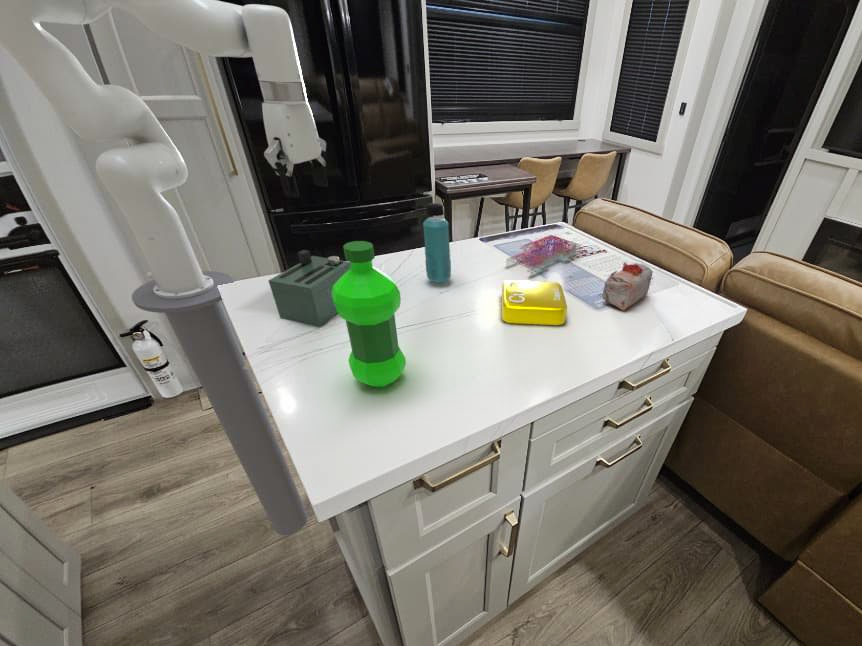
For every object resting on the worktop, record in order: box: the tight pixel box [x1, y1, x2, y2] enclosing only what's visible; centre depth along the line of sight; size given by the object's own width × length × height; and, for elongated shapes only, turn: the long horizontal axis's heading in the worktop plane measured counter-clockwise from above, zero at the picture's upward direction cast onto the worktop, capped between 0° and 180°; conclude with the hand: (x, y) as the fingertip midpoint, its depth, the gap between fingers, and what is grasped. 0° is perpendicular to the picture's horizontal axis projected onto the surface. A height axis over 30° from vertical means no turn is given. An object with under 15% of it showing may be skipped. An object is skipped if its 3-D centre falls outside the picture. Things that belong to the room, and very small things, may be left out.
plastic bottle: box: [331, 240, 407, 388], centre depth 70 cm, size 10×10×25 cm
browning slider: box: [297, 249, 312, 265], centre depth 93 cm, size 2×2×2 cm
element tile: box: [501, 279, 568, 326], centre depth 101 cm, size 15×15×5 cm
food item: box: [601, 261, 654, 311], centre depth 107 cm, size 14×8×10 cm, turn 140°
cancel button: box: [327, 255, 340, 267], centre depth 95 cm, size 2×2×2 cm
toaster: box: [268, 255, 351, 327], centre depth 94 cm, size 10×15×9 cm, turn 166°
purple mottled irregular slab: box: [505, 234, 583, 278], centre depth 128 cm, size 30×15×5 cm, turn 140°
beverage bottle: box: [422, 202, 452, 283], centre depth 105 cm, size 6×7×20 cm
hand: (307, 191), depth 89 cm, fingers open, 9 cm apart
